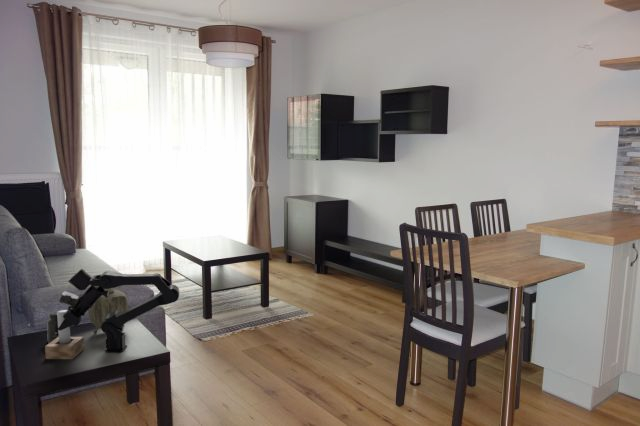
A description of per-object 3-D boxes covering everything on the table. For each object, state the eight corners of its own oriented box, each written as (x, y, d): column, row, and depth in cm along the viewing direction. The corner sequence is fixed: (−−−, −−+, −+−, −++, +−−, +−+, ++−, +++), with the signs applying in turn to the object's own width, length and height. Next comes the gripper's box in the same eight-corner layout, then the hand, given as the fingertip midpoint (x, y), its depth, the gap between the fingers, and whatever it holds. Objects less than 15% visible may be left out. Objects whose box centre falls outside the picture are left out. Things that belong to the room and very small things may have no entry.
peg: (72, 343, 201) (70, 311, 199) (63, 346, 197) (60, 314, 196) (67, 341, 203) (65, 309, 201) (57, 344, 200) (55, 312, 198)
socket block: (84, 348, 206) (83, 336, 205) (71, 359, 196) (71, 346, 195) (59, 348, 206) (58, 336, 205) (45, 358, 196) (45, 346, 195)
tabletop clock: (122, 325, 232) (120, 271, 228) (130, 331, 225) (128, 275, 222) (89, 333, 222) (86, 277, 218) (97, 339, 215) (94, 281, 212)
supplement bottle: (58, 344, 210) (56, 316, 208) (44, 343, 211) (42, 315, 209) (70, 338, 216) (68, 310, 215) (55, 337, 218) (54, 309, 216)
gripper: (76, 278, 207) (48, 307, 205) (67, 291, 189) (36, 323, 188) (99, 296, 210) (71, 324, 209) (91, 310, 192) (61, 341, 191)
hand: (60, 327), depth 199 cm, fingers closed on peg, 4 cm apart
